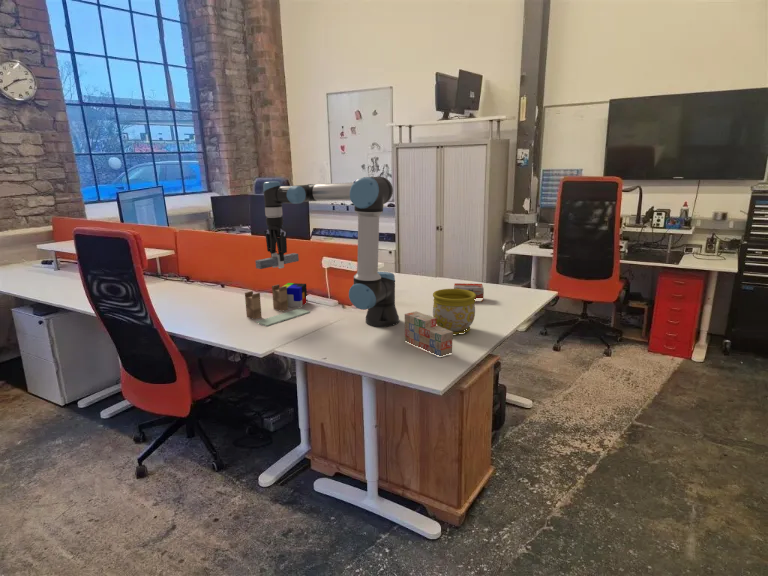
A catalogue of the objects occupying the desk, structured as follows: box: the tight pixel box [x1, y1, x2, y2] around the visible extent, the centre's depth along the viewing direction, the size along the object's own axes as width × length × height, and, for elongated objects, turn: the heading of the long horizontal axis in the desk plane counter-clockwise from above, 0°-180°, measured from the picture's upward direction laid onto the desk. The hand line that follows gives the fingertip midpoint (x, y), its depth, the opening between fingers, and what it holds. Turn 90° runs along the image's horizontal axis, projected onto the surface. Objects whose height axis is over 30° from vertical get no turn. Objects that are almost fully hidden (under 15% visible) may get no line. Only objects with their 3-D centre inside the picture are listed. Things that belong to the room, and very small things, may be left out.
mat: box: [255, 308, 311, 327], centre depth 232 cm, size 8×26×1 cm, turn 141°
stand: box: [244, 284, 289, 320], centre depth 238 cm, size 6×20×12 cm, turn 141°
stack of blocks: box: [404, 310, 454, 356], centre depth 191 cm, size 21×6×12 cm, turn 36°
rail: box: [254, 252, 300, 270], centre depth 227 cm, size 22×4×4 cm, turn 141°
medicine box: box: [453, 282, 485, 299], centre depth 258 cm, size 15×8×8 cm, turn 84°
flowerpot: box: [432, 288, 476, 334], centre depth 210 cm, size 18×18×16 cm
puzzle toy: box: [281, 282, 308, 308], centre depth 253 cm, size 10×10×10 cm
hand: (278, 267), depth 228 cm, fingers closed on rail, 3 cm apart
